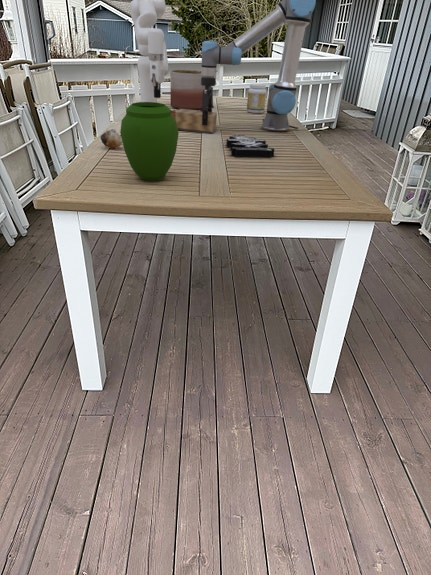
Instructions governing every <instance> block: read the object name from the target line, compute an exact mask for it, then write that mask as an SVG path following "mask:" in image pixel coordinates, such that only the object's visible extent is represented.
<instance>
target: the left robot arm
mask: <svg viewBox="0 0 431 575" xmlns="http://www.w3.org/2000/svg"><path fill="white" fill-rule="evenodd" d="M129 11H130V17H131V20H132V24H133V25H134V35H135V39H136V42H137V48H138V49H137V50H138V53H139V54H140V55H141V57H139V58H138V60H137V62H136V65H137V71H138V77H139V93H140V94H139V95H140V102H156V103H158V99H161V98H162V93H161V92H162V90H161V88H162V86H161V85H162V84H163V83H164V82H165V77H166V76H167V75H168V74H169V60H168V51H167V43H166V40H165V39H166V38H165V33H164V31H163V30H162V29H161V28H158V27H157V28H155V27H154V26H155V25H156V23H157V22H158V19H161V18H162V17H163V16H164V14H165V13H166V0H131V1H130V4H129ZM153 27H154V28H153Z"/></svg>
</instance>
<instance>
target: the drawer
mask: <svg viewBox="0 0 431 575" xmlns="http://www.w3.org/2000/svg"><path fill="white" fill-rule="evenodd" d="M176 111H177V110H171V115H172V116H173V118H174V119H176Z"/></svg>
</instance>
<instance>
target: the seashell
mask: <svg viewBox="0 0 431 575" xmlns="http://www.w3.org/2000/svg"><path fill="white" fill-rule="evenodd" d="M100 140H101V143H102V144H103V145H104V146H105V147H107V148H110V149H116V148H119V147H120V146H122V145H123V142H122V138H121V134H119V133H118V132H117V131H116V129H114V128H112V129H109V130H106V131H104V132H103V133H102V134H101V135H100Z"/></svg>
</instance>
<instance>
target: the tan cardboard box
mask: <svg viewBox="0 0 431 575" xmlns="http://www.w3.org/2000/svg"><path fill="white" fill-rule="evenodd" d="M175 111H176V119H175V120H176V123H177V128H178V131H185V132H192V133H201V134H209V135H210V134H211V135H213V133H215V131H216V130H217V117H218V112H216V111H212V112H208V122H207V125H202V112H201V110H188V109H177V110H175Z"/></svg>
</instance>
